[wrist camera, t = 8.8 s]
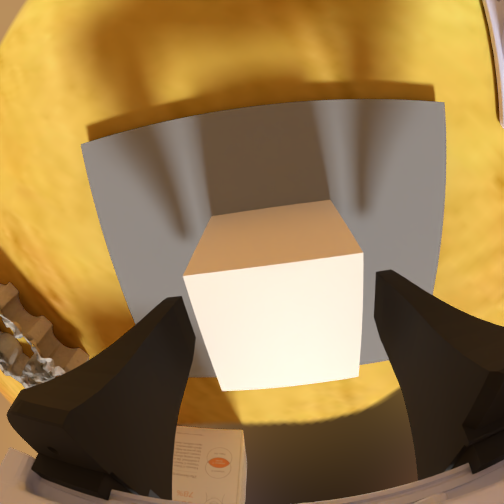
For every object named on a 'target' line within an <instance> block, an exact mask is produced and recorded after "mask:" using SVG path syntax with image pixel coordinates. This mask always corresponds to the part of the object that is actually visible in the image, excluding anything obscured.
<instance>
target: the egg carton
mask: <svg viewBox="0 0 504 504" xmlns="http://www.w3.org/2000/svg"><path fill="white" fill-rule="evenodd" d="M18 295H19V291H18V290H17V289H16V288H15V287H14V286H13V285H12V283H10V282H9V283H8V284H7V285H3V284H1V283H0V316H1V317H2V321H3V323H4V324H5V326H6V327H7V328H8V327H10V328H11V329H12V330H13V332H14V336H12V335H11V334H9V333H2V332H1V331H0V369H1V370H2V372H3V373H4V374H5V375H6V376H11V377H13V378H14V379H15V380H17V381H19V382H20V383H21V384H22V385H23V386H24V387H25V388H29V387H32V386H35V385H38V384H41V383H44V382H46V381H49V380H51V379H54V378H55V377H56V376H58V375H63V374H65V373H67V372H69V371H71V370H73V369H74V368H76V367H78V366H80V365H81V364H83V363H85V362H87V361H88V359H89V355H88V354H87V353H85V352H84V351H83V350H82V349H80V348H75V349H72V348H68V347H66V346H64V345H63V344H61V343H60V342H59V341H58V340H57V339H56V337H55V336H54V333H53V329H52V328H53V324H52V323H51V322H50V321H49V320H48V319H46V318H45V317H44V316H43V315H42V316H39V317H35V316H32V315H31V314H29V313H28V312H27V311H26V310H25V309H24V308H23V306H22V305H21V303H20V300H19V296H18ZM22 337H24V338H25V339H26V340H27V342H28V343H29V344H30V345H32V344H33V345H34V347H32V346H31V347H32V348H31V350H32V351H33V352H34V354H33V356H32V357H31V358H29V357H28V356H26V355H25V354H24V353H23V350H22V347H21V345H20V343H19V342H18V341H17V339H16V338H22Z"/></svg>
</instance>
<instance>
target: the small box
mask: <svg viewBox="0 0 504 504" xmlns="http://www.w3.org/2000/svg"><path fill="white" fill-rule="evenodd" d="M246 474H247V458H246V451H245V444H244V434H243V430H241V429H239V430H238V429H213V428H199V427H188V426H178V425H177V427H176V434H175V444H174V454H173V471H172V501H179V502H188V503H199V504H245V493H246Z"/></svg>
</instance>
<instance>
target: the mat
mask: <svg viewBox="0 0 504 504" xmlns="http://www.w3.org/2000/svg"><path fill="white" fill-rule="evenodd" d="M81 148H82V153H83V158H84V162H85V167H86V171H87V175H88V180H89V184H90V188H91V192H92V196H93V199H94V203H95V207H96V211H97V214H98V218H99V221H100V225H101V228H102V231H103V235H104V238H105V241H106V244H107V248H108V251H109V254H110V257H111V260H112V263H113V266H114V269H115V272H116V275H117V277H118V280H119V283H120V286H121V289H122V291H123V294H124V297H125V299H126V302H127V305H128V307H129V310H130V312H131V315H132V317H133V320H134V322H135V325H136V324H137V323H138V322H139V321H140V320H141V319H143V318H144V317H145V316H146V315H147V314H148V313H149V312H150V311H151V310H152V309H154V308H155V307H156V306H157V305H158V304H159V303H160V302H162V301H163V300H164V299H166V298H167V297H176V296H182V298H183V301H184V304H185V307H186V310H187V313H188V316H189V319H190V322H191V325H192V328H193V331H194V333H195V336H196V341H195V349H194V356H193V362H192V365H191V369H190V373H189V376H188V377H217V376H216V373H215V371H214V368H213V365H212V362H211V360H210V357H209V354H208V351H207V348H206V346H205V343H204V340H203V337H202V334H201V331H200V328H199V325H198V322H197V319H196V316H195V313H194V310H193V307H192V304H191V301H190V298H189V294H188V291H187V288H186V285H185V282H184V278H183V274H184V272H185V270H186V268H187V266H188V264H189V262H190V260H191V257H192V255H193V253H194V251H195V249H196V247H197V245H198V243H199V241H200V239H201V237H202V235H203V232H204V230H205V228H206V226H207V224H208V222H209V220H210V218H211V216H217V215H223V214H230V213H236V212H243V211H250V210H257V209H264V208H271V207H278V206H285V205H293V204H300V203H308V202H316V201H324V200H331V202H332V203H333V205H334V206H335V208H336V209H337V211H338V212H339V214H340V216H341V217H342V219H343V220H344V222H345V223H346V225H347V227H348V228H349V230H350V231H351V233H352V235H353V236H354V238H355V240H356V241H357V243H358V245H359V246H360V248H361V250H362V251H363V314H362V335H361V350H360V364H359V365H362V364H369V363H375V362H381V361H386V360H389V358H388V356H387V354H386V351H385V349H384V347H383V344H382V342H381V340H380V337H379V333H378V330H377V327H376V323H375V320H374V302H375V280H376V272H377V271H384V270H390V269H391V270H393V271H395V272H397V273H398V274H400V275H401V276H403V277H405V278H406V279H408V280H409V281H411V282H412V283H414V284H415V285H417V286H418V287H420V288H422V289H423V290H425V291H426V292H428V293H430V294H431V295H433V289H434V284H435V278H436V272H437V266H438V259H439V252H440V244H441V236H442V226H443V215H444V202H445V184H446V122H445V105H444V102H433V101H418V100H396V99H340V100H317V101H302V102H289V103H279V104H269V105H260V106H252V107H244V108H237V109H230V110H224V111H217V112H211V113H206V114H200V115H195V116H189V117H184V118H179V119H175V120H170V121H165V122H161V123H156V124H152V125H148V126H144V127H140V128H136V129H132V130H128V131H124V132H121V133H117V134H114V135H110V136H107V137H103V138H100V139H97V140H93V141H90V142H87V143H84V144H81Z"/></svg>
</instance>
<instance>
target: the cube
mask: <svg viewBox="0 0 504 504" xmlns="http://www.w3.org/2000/svg"><path fill="white" fill-rule="evenodd" d="M183 278H184V282H185V285H186V288H187V291H188V294H189V298H190V301H191V304H192V307H193V310H194V313H195V316H196V319H197V322H198V325H199V328H200V331H201V334H202V337H203V340H204V343H205V346H206V348H207V351H208V354H209V357H210V360H211V362H212V365H213V368H214V371H215V373H216V376H217V379H218V381H219V384H220V387H221V389H222V391H235V390H252V389H265V388H277V387H287V386H296V385H305V384H313V383H320V382H327V381H334V380H341V379H347V378H353V377H358V375H359V364H360V350H361V335H362V314H363V251H362V250H361V248H360V246H359V245H358V243H357V241H356V240H355V238H354V236H353V235H352V233H351V231H350V230H349V228H348V227H347V225H346V223H345V222H344V220H343V219H342V217H341V216H340V214H339V212H338V211H337V209H336V208H335V206H334V205H333V203H332V202H331V200H324V201H316V202H308V203H300V204H293V205H285V206H278V207H271V208H264V209H257V210H250V211H243V212H236V213H230V214H223V215H217V216H211V218H210V220H209V222H208V224H207V226H206V228H205V230H204V232H203V235H202V237H201V239H200V241H199V243H198V245H197V247H196V249H195V251H194V253H193V255H192V257H191V260H190V262H189V264H188V266H187V268H186V270H185V272H184V274H183Z"/></svg>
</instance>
